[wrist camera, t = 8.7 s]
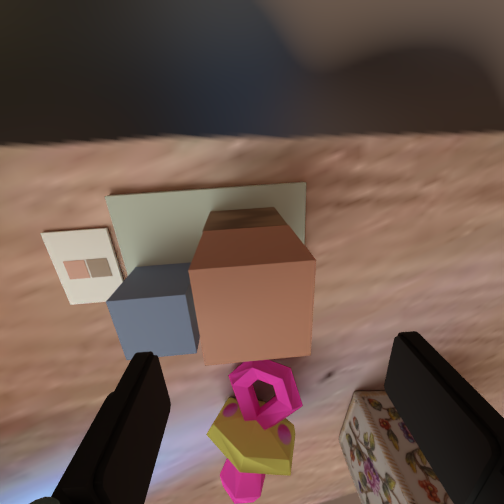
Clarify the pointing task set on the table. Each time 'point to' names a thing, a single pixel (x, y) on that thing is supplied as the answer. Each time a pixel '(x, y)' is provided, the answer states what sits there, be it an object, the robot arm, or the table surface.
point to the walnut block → (243, 219)
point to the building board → (191, 218)
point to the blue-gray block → (156, 311)
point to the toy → (256, 429)
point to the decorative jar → (386, 455)
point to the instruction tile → (84, 263)
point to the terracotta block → (253, 294)
